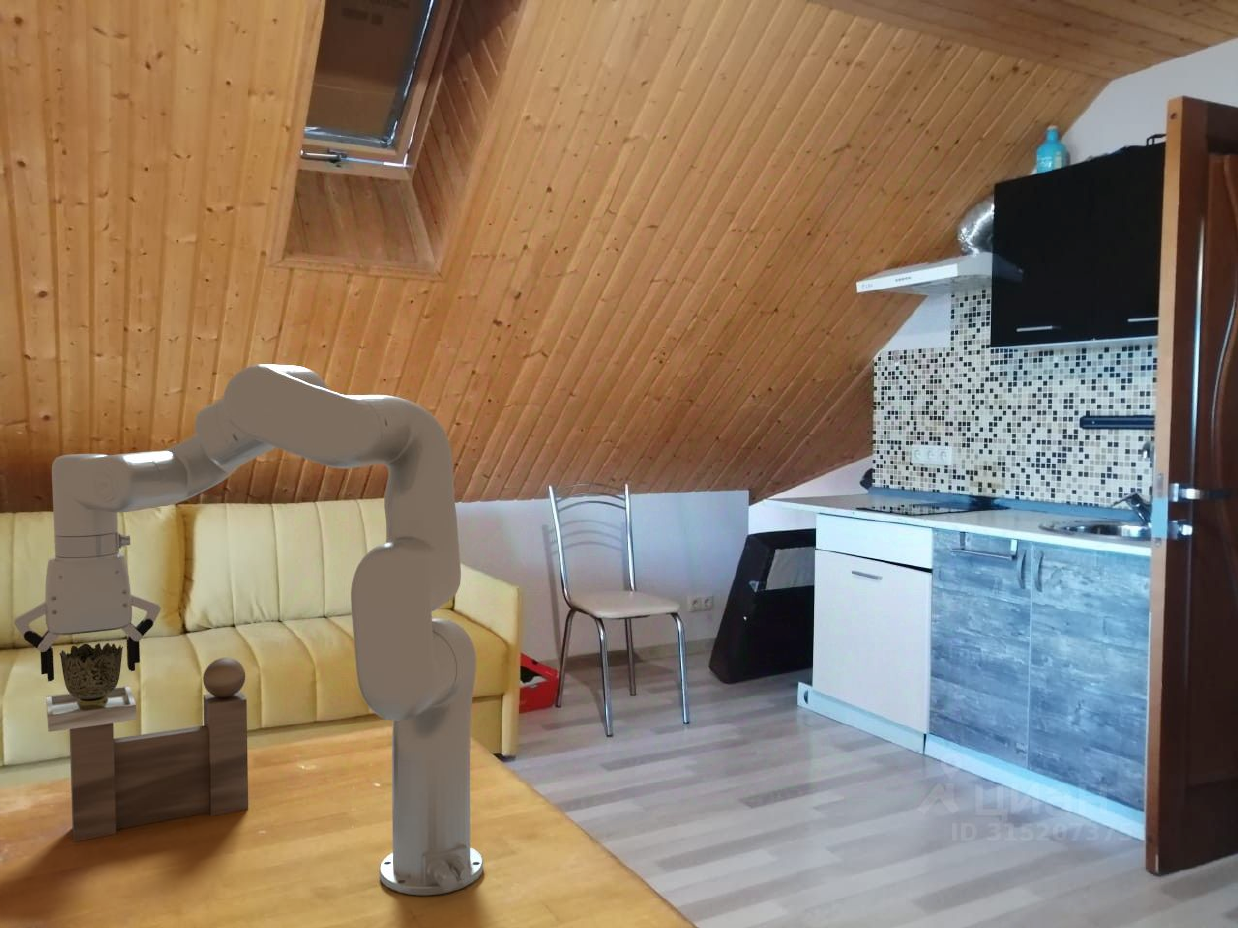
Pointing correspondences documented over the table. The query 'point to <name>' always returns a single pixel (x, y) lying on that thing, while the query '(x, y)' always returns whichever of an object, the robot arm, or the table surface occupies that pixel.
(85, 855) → the table surface
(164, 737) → the headboard
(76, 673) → the cup
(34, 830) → the table surface
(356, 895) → the table surface
